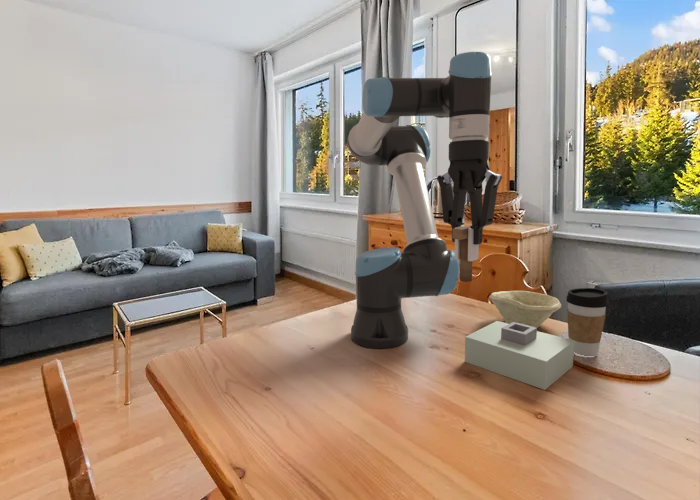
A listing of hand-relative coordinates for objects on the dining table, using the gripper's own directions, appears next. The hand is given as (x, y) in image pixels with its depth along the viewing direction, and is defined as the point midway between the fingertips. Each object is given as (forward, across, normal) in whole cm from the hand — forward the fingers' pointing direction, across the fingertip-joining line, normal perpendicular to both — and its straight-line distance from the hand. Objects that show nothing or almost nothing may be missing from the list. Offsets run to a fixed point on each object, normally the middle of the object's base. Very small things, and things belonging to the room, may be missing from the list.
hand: (466, 258), depth 85 cm
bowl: (+25, -4, +36) cm, 44 cm away
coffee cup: (+25, +14, +28) cm, 40 cm away
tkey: (+4, 0, 0) cm, 4 cm away
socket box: (+25, +6, +12) cm, 28 cm away
